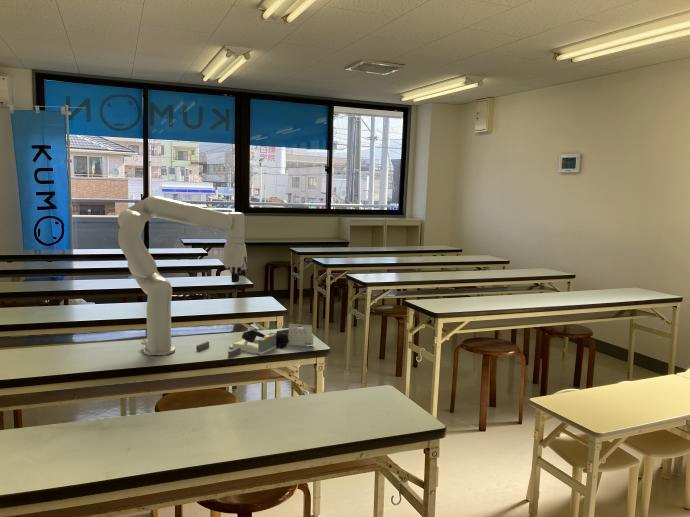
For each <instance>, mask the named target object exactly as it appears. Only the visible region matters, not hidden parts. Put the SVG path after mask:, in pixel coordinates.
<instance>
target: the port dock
mask: <svg viewBox="0 0 690 517" xmlns="http://www.w3.org/2000/svg"><path fill="white" fill-rule="evenodd" d="M269 334H270V333H269ZM269 334H267V335H265V336H264V338H262V337H260V338H257V337H256V338H255V340H254V342H253V343H251V342H248V343H247V345H244V342H245V340H244V339H241V340H239V341H237V342H232V344H230V345H228V349H231V350H233V349H235V348H237V347H241V351H242V352H247V353H251V354H257V353H258V355H263V353H264V354H266V353H269V352H271V351H272V350H274V349H277V348H276V334H270V335H269ZM265 352H266V353H265Z"/></svg>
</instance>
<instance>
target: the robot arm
mask: <svg viewBox="0 0 690 517" xmlns="http://www.w3.org/2000/svg"><path fill="white" fill-rule="evenodd" d="M153 218H157V219H161V220H166V221H170V222H176V223H180V224H185V225H190V226H199V227H201V228H202V227H203V228H208V229H212V230H217V231H220V232H221V231H223V232H225V231H226V236H225V238H224V240H225V241H226V242H224V243H225V244H224V247H223V254H222V265H223V266H224V268H225V269H228V271H229V273H230V274H231V278H230V279H231V283H238V282H239V281H240V274H241V272H242V271H244V270H247V265H248V254H247V253H248V252H247V247H246V244H245V214H244V213H243V212H239V211H231V212H224V211H217V210H213V209H208V208H205V207H202V206H198V205H196V204H193V203H188V202H185V201H179V200H175V199H171V198H166V197H162V196H157V195H150V196H148V197H146V198H143V199H142V200H140V201H138V202H136V203H135V204H133V205H132V206H131V205H130V206H129V207H127V208H126V209H124V210H122V211H121V212H120V214H119V215H118V217H117V223H118V225H119V229H118V234H117V240H118V242H117V243H118V246H119V248H120V250H121V251H122V253H123V255H124V256H125V259H126V260H127V268H128V269H129V272H130V273H131V275H132V276H133V278H134V280H135V281H136V282H137V284H138V286H139V287H140V289H141V290H142V292H144V294H146V295H147V300H146V338H143V340H142V341H141V342H140V344H141V345H144V346H145V347H144V348H143V350H142V351H143V354H145V355H146V354H147V356H150V355H162V356H168V355H171V354H173V353H174V351H176V347H175V346H173V345H172V296H173V288H172V287H173V286H172V285H171V282H170V281H169V280H168V279H167V278H166V277H164V276H162V275H161V273H160V272H159V271H158V268H157V263H156V260H155V259H154V258H153V256H152V255H151V253H150V251H149V250H148V248H147V247H146V245H145V243H144V241H143V239H142V232H143V230H144V228H145V225H146V223H147V222H148V221H150V220H152V219H153ZM167 354H168V355H167Z"/></svg>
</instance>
